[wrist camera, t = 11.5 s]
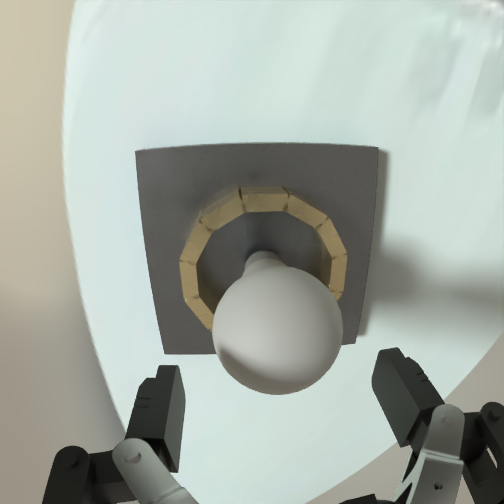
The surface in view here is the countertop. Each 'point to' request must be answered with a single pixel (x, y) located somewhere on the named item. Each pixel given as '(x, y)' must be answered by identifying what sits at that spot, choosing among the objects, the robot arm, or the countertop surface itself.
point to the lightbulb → (277, 327)
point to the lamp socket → (252, 225)
